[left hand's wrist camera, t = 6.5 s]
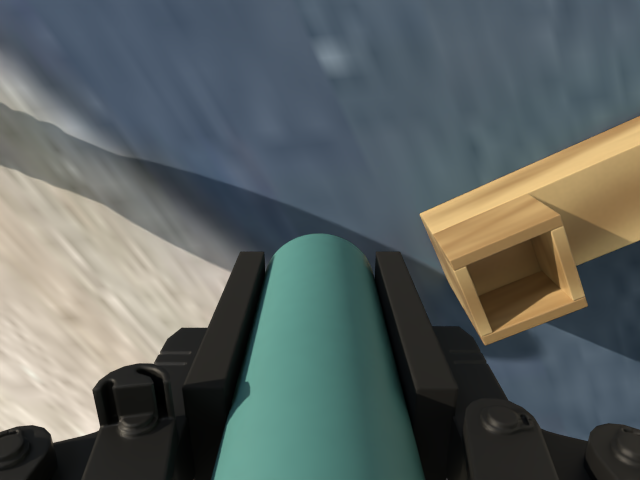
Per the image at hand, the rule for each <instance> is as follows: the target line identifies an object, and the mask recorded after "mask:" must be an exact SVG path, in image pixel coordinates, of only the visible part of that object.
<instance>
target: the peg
mask: <svg viewBox="0 0 640 480" xmlns="http://www.w3.org/2000/svg"><path fill="white" fill-rule="evenodd" d="M211 480H425V476H424V472H423V469H422V465H421V461H420V457H419V453H418V449H417V445H416V441H415V437H414V433H413V429H412V425H411V421H410V417H409V413H408V409H407V405H406V401H405V398H404V394H403V390H402V386H401V382H400V378H399V374H398V370H397V366H396V362H395V358H394V354H393V350H392V346H391V342H390V338H389V334H388V330H387V326H386V323H385V319H384V315H383V311H382V307H381V303H380V299H379V295H378V291H377V287H376V283H375V279H374V275H373V271H372V268H371V266H370V264H369V262H368V260H367V258H366V257H365V255H364V254H363V253H362V252H361V251H360V250H359V249H358V248H357V247H356V246H355V245H354V244H352V243H350V242H349V241H347V240H345V239H343V238H340V237H337V236H334V235H329V234H309V235H304V236H301V237H298V238H295V239H293V240H291V241H289V242H288V243H286V244H285V245H283V246H282V247H281V248H280V249H279V250H278V251H277V252H276V253H275V254H274V256H273V257H272V259H271V260H270V262H269V264H268V266H267V269H266V272H265V276H264V280H263V284H262V288H261V292H260V295H259V299H258V303H257V307H256V311H255V315H254V318H253V322H252V326H251V330H250V334H249V337H248V341H247V345H246V349H245V353H244V356H243V360H242V364H241V368H240V372H239V376H238V379H237V383H236V387H235V391H234V395H233V398H232V402H231V406H230V410H229V414H228V417H227V421H226V424H225V428H224V432H223V436H222V439H221V443H220V447H219V451H218V455H217V459H216V462H215V466H214V470H213V474H212V478H211Z"/></svg>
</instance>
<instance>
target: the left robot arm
mask: <svg viewBox="0 0 640 480" xmlns="http://www.w3.org/2000/svg"><path fill="white" fill-rule="evenodd" d="M264 276H265V257H264V252H240V254H239V256H238V258H237V261H236V263H235V265H234V268H233V270H232V272H231V275H230V277H229V279H228V282H227V284H226V286H225V289H224V291H223V293H222V296H221V298H220V300H219V303H218V305H217V307H216V310H215V312H214V314H213V317H212V319H211V321H210V324H209V326H208V328H181V329H180V330H178V331H177V332H176V333H174V334H173V335H172V336H171V337H169V338H168V339H167V341H166V343H165V344H164V346H163V348H162V350H161V351H160V355H158V357H157V359H156V360H155V362H154V364H142V363H139V364H134V365H129V366H124V367H122V368H120V369H117V370H115V371H113V372H110V373H109V374H108V375H106V376H105V377H103V378H102V379H101V380H99V382H98V383H97V384H96V386H95V387H94V388H93V395H94V400H95V404H96V409H97V414H98V418H99V423H100V429H99V431H97V432H95V433H91V434H88V435H85V436H81V437H77V438H73V439H68V440H64V441H60V442H55V443H53V442H52V438H51V434H50V433H49V432H48V431H47V430H46V429H45V428H42V427H38V426H34V425H30V426H19V427H15V428H11V429H8V430H5V431H2V432H0V480H211V478H212V474H213V470H214V466H215V462H216V459H217V455H218V451H219V447H220V443H221V439H222V436H223V432H224V428H225V424H226V421H227V417H228V414H229V410H230V406H231V402H232V398H233V395H234V391H235V387H236V383H237V379H238V376H239V372H240V368H241V364H242V360H243V356H244V353H245V349H246V345H247V341H248V337H249V334H250V330H251V326H252V322H253V318H254V315H255V311H256V307H257V303H258V299H259V295H260V292H261V288H262V284H263V280H264ZM375 283H376V287H377V291H378V295H379V299H380V303H381V307H382V311H383V315H384V319H385V323H386V326H387V330H388V334H389V338H390V342H391V346H392V350H393V354H394V358H395V362H396V366H397V370H398V374H399V378H400V382H401V386H402V390H403V394H404V398H405V401H406V405H407V409H408V413H409V417H410V421H411V425H412V429H413V433H414V437H415V441H416V445H417V449H418V453H419V457H420V461H421V465H422V469H423V472H424V476H425V480H446V479H447V480H640V430H639V429H635V428H632V427H629V426H626V425H621V424H610V423H608V424H604V425H599V426H596V427H595V428H594V429H593V430H592V431H591V432H590V436H589V439H588V441H584V440H580V439H576V438H571V437H567V436H563V435H559V434H555V433H552V432H549V431H545V430H543V429H541V428H540V426H539V425H538V423H537V421H536V420H535V418H534V417H533V416H532V415H531V414H530V413H529V412H527V411H526V410H525V409H524V408H523V407H520V406H518V405H516V404H514V403H512V402H510V401H508V399H507V397H506V395H505V394H504V392H503V390H502V388H501V386H500V385H499V383H498V381H497V379H496V378H495V376H494V374H493V372H492V370H491V369H490V367H489V365H488V364H486V360H485V358H484V356H483V354H482V353H480V349H479V347H478V346H477V344H476V342H475V340H474V338H473V337H472V336H470V335H469V334H468V333H467V332H465V331H464V330H463V329H461V328H460V327H459V326H432V325H431V323H430V321H429V318H428V316H427V314H426V311H425V309H424V307H423V304H422V302H421V300H420V297H419V295H418V293H417V290H416V288H415V286H414V283H413V281H412V279H411V276H410V274H409V272H408V269H407V267H406V265H405V262H404V260H403V258H402V255H401V253H400V252H376V263H375Z"/></svg>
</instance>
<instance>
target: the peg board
mask: <svg viewBox="0 0 640 480" xmlns="http://www.w3.org/2000/svg"><path fill="white" fill-rule="evenodd" d="M420 216H421V219H422V221H423V223H424V226H425V228H426V230H427V233H428V235H429V238H430V240H431V242H432V245H433V247H434V249H435V252H436V254H437V256H438V259H439V261H440V263H441V266H442V268H443V270H444V273H445V275H446V277H447V280H448V282H449V284H450V286H451V287H452V289H453V291H454V293H455V294H456V296H457V298H458V300H459V301H460V303H461V305H462V307H463V308H464V310H465V312H466V314H467V315H468V317H469V319H470V321H471V322H472V324H473V326H474V328H475V329H476V331H477V333H478V334H479V336H480V338H481V340H482V341H483V343H484V345H489V344H491V343H494V342H496V341H499V340H502V339H504V338H507V337H509V336H512V335H515V334H517V333H520V332H522V331H525V330H528V329H530V328H533V327H535V326H538V325H541V324H543V323H546V322H548V321H551V320H554V319H556V318H559V317H561V316H564V315H567V314H569V313H572V312H574V311H577V310H580V309H582V308H585V307H587V306H588V304H587V301H586V297H585V294H584V291H583V287H582V284H581V281H580V278H579V274H578V271H577V268H576V266H577V265H579V264H582V263H584V262H587V261H589V260H592V259H594V258H597V257H599V256H602V255H604V254H607V253H609V252H612V251H614V250H617V249H619V248H622V247H624V246H627V245H629V244H632V243H634V242H637V241H639V240H640V116H639V117H637V118H634V119H632V120H630V121H628V122H625V123H623V124H621V125H619V126H616V127H614V128H612V129H610V130H607V131H605V132H603V133H601V134H598V135H596V136H594V137H592V138H589V139H587V140H585V141H583V142H580V143H578V144H576V145H574V146H571V147H569V148H567V149H565V150H562V151H560V152H558V153H556V154H553V155H551V156H549V157H547V158H544V159H542V160H540V161H538V162H535V163H533V164H531V165H529V166H526V167H524V168H522V169H520V170H517V171H515V172H513V173H510V174H508V175H506V176H504V177H501V178H499V179H497V180H495V181H492V182H490V183H488V184H486V185H483V186H481V187H479V188H477V189H474V190H472V191H470V192H468V193H465V194H463V195H461V196H459V197H456V198H454V199H452V200H450V201H447V202H445V203H443V204H441V205H438V206H436V207H434V208H432V209H429V210H427V211H425V212H423V213H420Z"/></svg>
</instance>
